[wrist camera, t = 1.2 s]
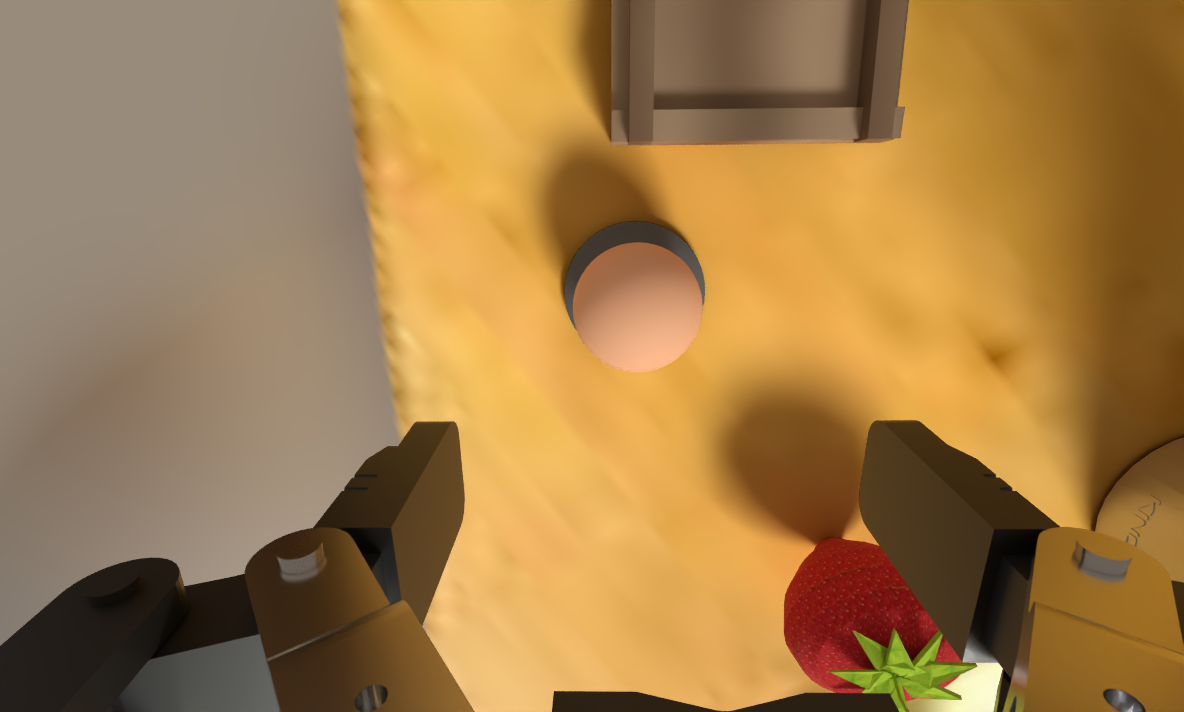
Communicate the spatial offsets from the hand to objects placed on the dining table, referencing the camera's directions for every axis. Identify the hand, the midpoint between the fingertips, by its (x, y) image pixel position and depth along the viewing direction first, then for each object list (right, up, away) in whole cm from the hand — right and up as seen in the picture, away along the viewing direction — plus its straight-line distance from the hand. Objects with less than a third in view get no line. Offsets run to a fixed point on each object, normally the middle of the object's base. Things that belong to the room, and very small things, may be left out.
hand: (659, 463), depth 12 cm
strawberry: (+11, -7, +18) cm, 22 cm away
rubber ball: (0, +4, +11) cm, 12 cm away
